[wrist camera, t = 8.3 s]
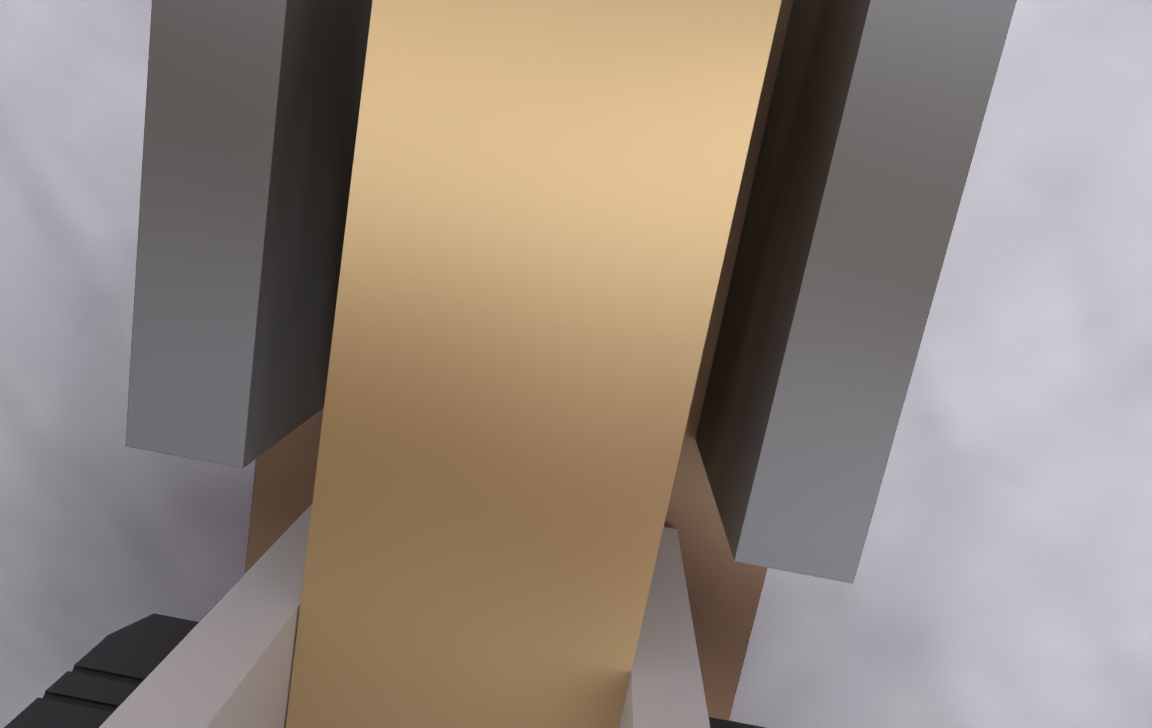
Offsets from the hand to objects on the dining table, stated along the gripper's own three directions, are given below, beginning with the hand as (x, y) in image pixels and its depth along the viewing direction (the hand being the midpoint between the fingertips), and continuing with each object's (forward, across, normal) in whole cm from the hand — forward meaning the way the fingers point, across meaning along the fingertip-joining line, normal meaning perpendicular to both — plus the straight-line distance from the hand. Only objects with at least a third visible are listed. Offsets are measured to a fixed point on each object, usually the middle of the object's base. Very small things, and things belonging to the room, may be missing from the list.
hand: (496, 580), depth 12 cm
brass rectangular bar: (0, 0, -3) cm, 3 cm away
